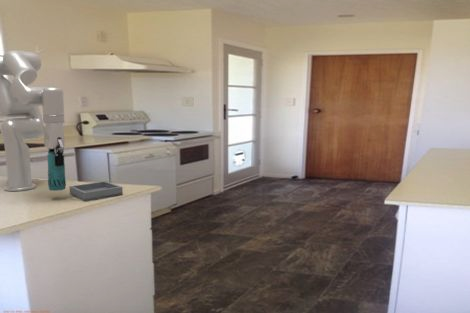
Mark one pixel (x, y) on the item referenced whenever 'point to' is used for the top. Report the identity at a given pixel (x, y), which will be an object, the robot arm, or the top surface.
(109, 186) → the tray
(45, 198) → the top surface
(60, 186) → the beverage bottle
